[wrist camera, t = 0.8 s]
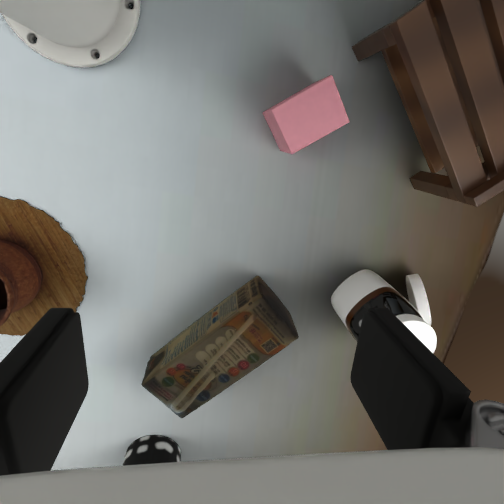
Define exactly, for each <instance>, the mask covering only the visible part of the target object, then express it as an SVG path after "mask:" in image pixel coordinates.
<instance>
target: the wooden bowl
mask: <svg viewBox="0 0 504 504" xmlns="http://www.w3.org/2000/svg"><path fill="white" fill-rule="evenodd" d="M84 268H85V265H84V257H83V255H82V253H81V252H80V251H79V249H78V246H77V245H75V244H74V243H73V241H72V238H71V237H70V235H69V234H68V233H67V232H65V231H64V230H62V229H61V228H60V224H59V222H56V221H54V218H52V217H50V216H48V215H47V214H46V213H45V212H44V211H42V210H38V209H36V208H34V207H32V206H29V204H28V203H27V202H25V201H22V200H19V199H17V200H9V199H7V198H3V197H0V334H8V335H12V336H13V335H20V336H23V335H25V334H27V333H28V332H29V331H30V330H31V329H32V328H33V326H34V325H35V324H36V323H37V322H38V321H39V320H40V319H41V318H42V317H43V315H44V314H45V313H46V312H47V311H48V310H49V309H50V308H72V309H73V310H74V312H76V308H77V306H80V302H82V300H83V296H82V295H84V294H85V284H86V280H87V279H88V276H86V274H85V270H84Z"/></svg>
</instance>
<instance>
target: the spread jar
mask: <svg viewBox="0 0 504 504" xmlns="http://www.w3.org/2000/svg"><path fill="white" fill-rule="evenodd" d="M406 287H407V293H408V298H409V301H408V300H407V299H406V298H405V297H403V296H402V295H401V294H400V293H399V292H398V291H397V290H395V289H394V288H393V287H392V286H391V285H390V284H388V283H387V282H386V281H385V280H384V279H383V278H381V277H380V276H379V275H378V274H376V273H375V272H373V271H371V270H368V269H364V270H360V271H357V272H355V273H353V274H352V275H350V276H349V277H347V278H346V279H345V280H344V281H342V282H341V283H340V284H339V286H338V287H337V288H336V289H335V291H334V292H333V294H332V297H331V303H332V306H333V308H334V310H335V311H336V313H337V314H338V316H339V317H340V319H341V320H342V321H343V323H344V324H345V326H346V327H347V329H348V330H349V332H350V333H351V334H352V336H353V337H354V339H355V340H356V341H357V342H358V337H359V332H360V327H361V323H362V318H363V314H364V313H365V312H368V310H369V309H370V308H388V309H389V310H390V311H391V312H392V313H393V314H394V315H395V316H396V317H397V318H398V319H399V320H400V321H401V322H402V323H403V324H404V325H405V326H406V327H407V328H408V329H409V330H410V331H411V332H412V333H413V334H414V335H415V336H416V337H417V338H418V339H419V340H420V341H421V342H422V343H423V344H424V345H425V346H426V347H427V348H428V349H429V350H430V351H431V352H432V353H434V351H435V348H436V343H437V338H436V334H435V331H434V330H433V328H432V327H431V314H430V308H429V303H428V299H427V295H426V291H425V288H424V285H423V282H422V280H421V278H420V276H419V275H418V274H412V275H406Z"/></svg>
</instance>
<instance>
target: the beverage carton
mask: <svg viewBox="0 0 504 504" xmlns="http://www.w3.org/2000/svg"><path fill="white" fill-rule="evenodd" d="M296 339H298V334H297V331H296V328H295V325H294V323H293V320H292V318H291V315H290V313H289V312H288V310H287V309H286V307H285V306H284V305H283V304H282V302H281V301H280V300H279V299H278V297H277V296H276V295H275V294H274V293H273V291H272V290H271V289H270V288H269V287H268V286H267V284H266V283H265V282H264V281H263V280H262V279H261V278H260V277H259V276H256V277H255V278H253V279H252V280H250V281H249V282H248V283H246V284H245V285H243V286H242V287H241V288H239V289H238V290H237V291H235V292H234V293H233V294H231V295H230V296H229V297H227V298H226V299H225V300H223V301H222V302H221V303H219V304H218V305H217V306H216V307H214V308H213V309H212V310H210V311H209V312H208V313H206V314H205V315H204V316H202V317H201V318H200V319H199V320H197V321H196V322H195V323H193V324H192V325H191V326H189V327H188V328H187V329H185V330H184V331H183V332H181V333H180V334H179V335H178V336H176V337H175V338H174V339H172V340H171V341H170V342H169V343H168V344H166V345H165V346H164V347H163V348H161V349H160V350H159V351H157V352H156V353H155V354H153V355H152V356H151V357H150V360H149V362H148V363H147V367H146V371H145V375H144V378H143V382H142V386H143V387H144V388H145V389H147V390H148V391H149V392H150V393H152V394H153V395H154V396H155V397H157V398H158V399H159V400H160V401H161V402H162V403H164V404H165V405H166V406H167V407H168V408H170V409H171V410H172V411H173V412H174V413H175V414H176V415H178V416H179V417H180V418H184V417H185V416H186V415H188V414H189V413H191V412H192V411H194V410H196V409H197V408H198V407H200V406H201V405H203V404H204V403H206V402H208V401H209V400H210V399H212V398H213V397H215V396H216V395H217V394H219V393H221V392H222V391H223V390H225V389H226V388H228V387H229V386H231V385H232V384H233V383H235V382H237V381H238V380H239V379H241V378H242V377H244V376H245V375H247V374H248V373H249V372H251V371H252V370H254V369H255V368H257V367H258V366H260V365H261V364H262V363H264V362H265V361H266V360H268V359H269V358H271V357H272V356H273V355H275V354H276V353H278V352H279V351H281V350H282V349H283V348H285V347H286V346H288V345H289V344H290V343H291V342H293V341H294V340H296Z"/></svg>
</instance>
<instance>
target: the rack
mask: <svg viewBox="0 0 504 504" xmlns="http://www.w3.org/2000/svg"><path fill="white" fill-rule="evenodd" d="M352 49H353V51H354V53H355V55H356V58H357V60H358V61H360V60H363V59H365V58H367V57H369V56H371V55H373V54H375V53H378V52H380V51H381V52H382V54H383V57H384V59H385V62H386V64H387V66H388V69H389V71H390V74H391V76H392V78H393V81H394V83H395V86H396V88H397V91H398V93H399V95H400V98H401V100H402V103H403V105H404V108H405V110H406V112H407V115H408V117H409V120H410V122H411V125H412V127H413V129H414V132H415V134H416V137H417V139H418V142H419V144H420V146H421V149H422V151H423V154H424V156H425V159H426V161H427V163H428V166H429V168H430V171H431V172H432V173H429V172H424V171H420V172H418V173H417V174H415V175H414V176H412V177H411V178H410V180H411V182H412V185H413V187H414V189H417V190H420V191H424V192H427V193H431V194H434V195H438V196H441V197H445V198H448V199H452V200H455V201H459V202H463V203H467V204H469V205H473V206H476V207H477V206H479V205H481V204H482V203H484V202H485V201H487V200H489V199H490V198H492V197H493V196H495V195H497V194H498V193H500V192H502V191H503V190H504V0H423V1H421V2H420V3H419V4H417V5H416V6H414V7H413V8H412V9H410V10H409V11H407V12H406V13H404V14H403V15H402V16H400V17H399V18H397V19H396V20H394V21H392V22H391V23H389V24H387V25H386V26H384V27H382V28H381V29H379V30H377V31H375V32H374V33H372V34H370V35H369V36H367V37H365V38H364V39H362V40H361V41H360V42H358V43H357V44H355V45H354V46H353V47H352ZM477 146H480V149H481V152H482V155H483V158H484V161H485V162H484V163H481V160H480V157H479V154H478V151H477V148H476V147H477ZM444 167H445V169H446V171H447V174H448V176H444V175H439V174H434V173H436V172H438V171H440V170H441V169H443V168H444Z"/></svg>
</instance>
